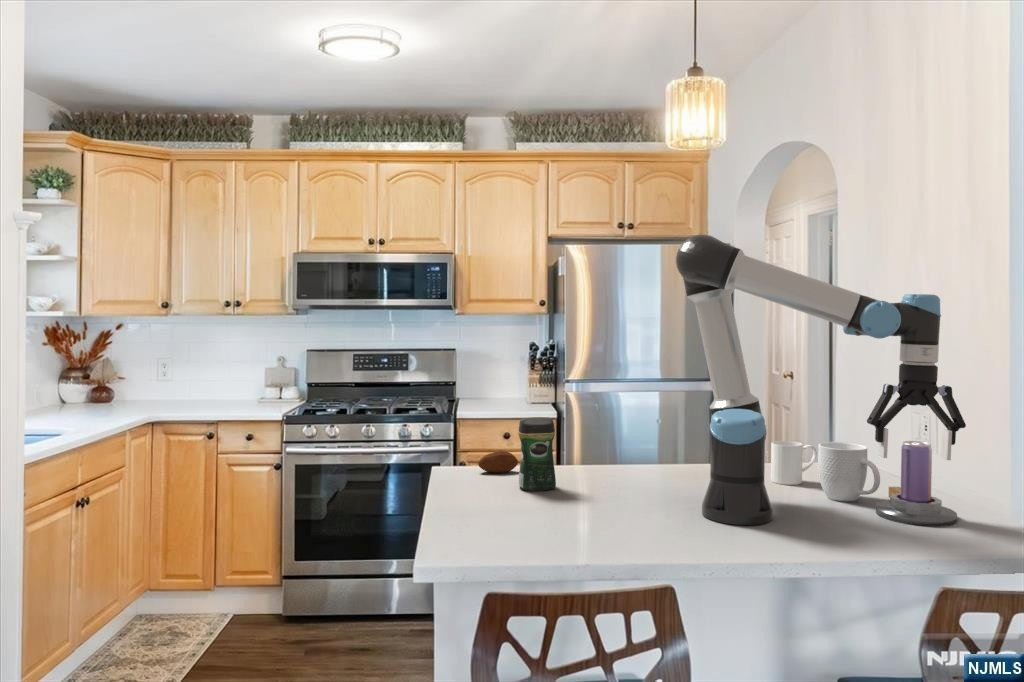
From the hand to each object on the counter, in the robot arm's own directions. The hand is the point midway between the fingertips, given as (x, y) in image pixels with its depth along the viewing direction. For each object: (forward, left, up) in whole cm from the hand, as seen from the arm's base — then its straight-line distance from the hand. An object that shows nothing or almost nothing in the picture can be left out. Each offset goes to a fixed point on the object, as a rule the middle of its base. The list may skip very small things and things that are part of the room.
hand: (914, 458), depth 163 cm
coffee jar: (-86, +20, -13) cm, 89 cm away
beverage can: (0, 0, -12) cm, 12 cm away
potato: (-98, +38, -13) cm, 105 cm away
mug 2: (-10, +14, -13) cm, 21 cm away
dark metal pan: (0, +1, -13) cm, 13 cm away
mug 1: (-17, +32, -13) cm, 38 cm away
